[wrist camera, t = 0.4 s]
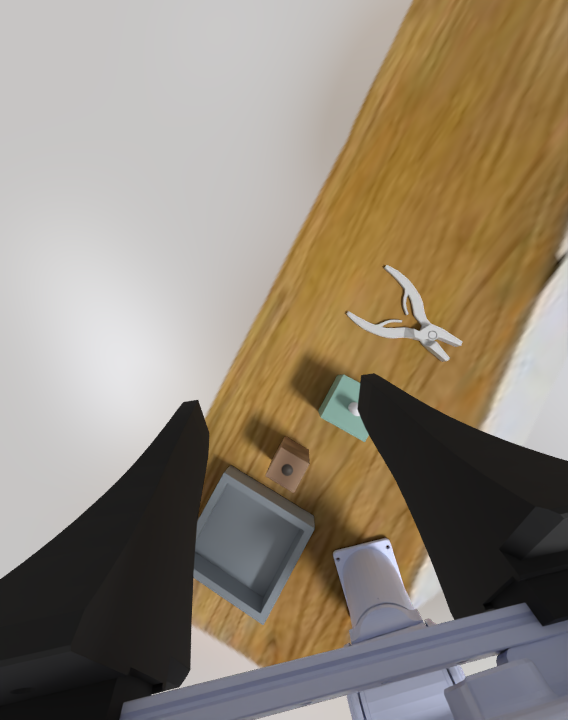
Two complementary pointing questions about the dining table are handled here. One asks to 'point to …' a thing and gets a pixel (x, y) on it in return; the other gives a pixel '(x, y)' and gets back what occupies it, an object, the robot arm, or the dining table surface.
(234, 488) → the tray
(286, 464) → the walnut block
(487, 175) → the dining table surface
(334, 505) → the dining table surface
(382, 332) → the pliers
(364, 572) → the robot arm
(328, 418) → the green block
